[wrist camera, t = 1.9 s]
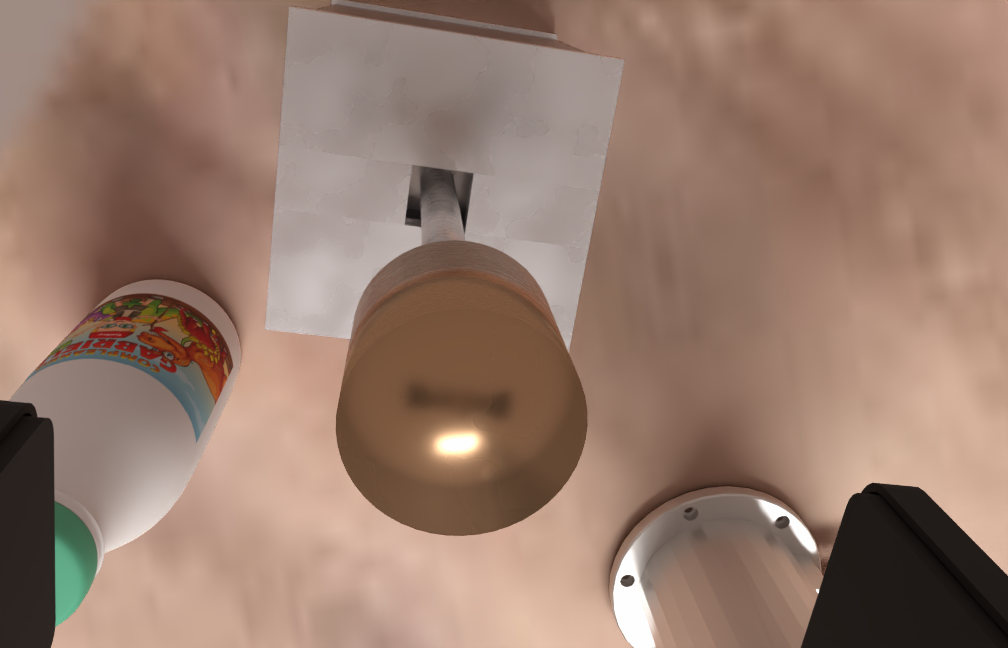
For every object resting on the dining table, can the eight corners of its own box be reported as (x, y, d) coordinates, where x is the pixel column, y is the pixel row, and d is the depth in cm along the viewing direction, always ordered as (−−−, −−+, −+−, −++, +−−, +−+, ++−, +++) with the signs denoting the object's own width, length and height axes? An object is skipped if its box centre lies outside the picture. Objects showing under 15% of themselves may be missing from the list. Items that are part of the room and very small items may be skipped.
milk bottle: (263, 395, 49) (169, 648, 31) (121, 430, 49) (-59, 704, 30) (215, 259, 46) (79, 446, 28) (64, 295, 46) (-173, 507, 28)
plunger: (568, 79, 33) (770, 211, 14) (530, 299, 35) (657, 654, 17) (332, 43, 32) (211, 132, 13) (311, 272, 34) (186, 622, 16)
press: (554, 33, 44) (624, 59, 29) (511, 291, 48) (553, 429, 34) (333, -3, 43) (289, 6, 28) (309, 266, 47) (259, 399, 32)
